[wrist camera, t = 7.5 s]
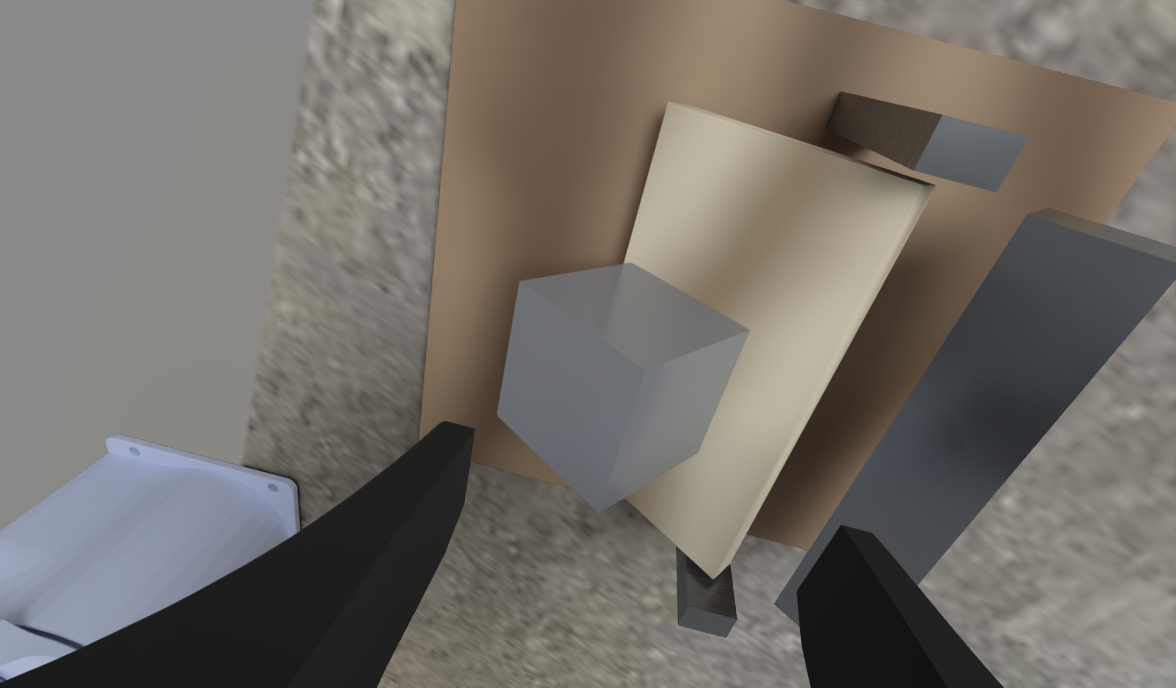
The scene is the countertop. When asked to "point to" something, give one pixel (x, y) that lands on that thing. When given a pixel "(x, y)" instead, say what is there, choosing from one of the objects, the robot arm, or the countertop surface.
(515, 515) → the countertop surface
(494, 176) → the frame
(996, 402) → the trapdoor
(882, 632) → the robot arm
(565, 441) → the grey cube
